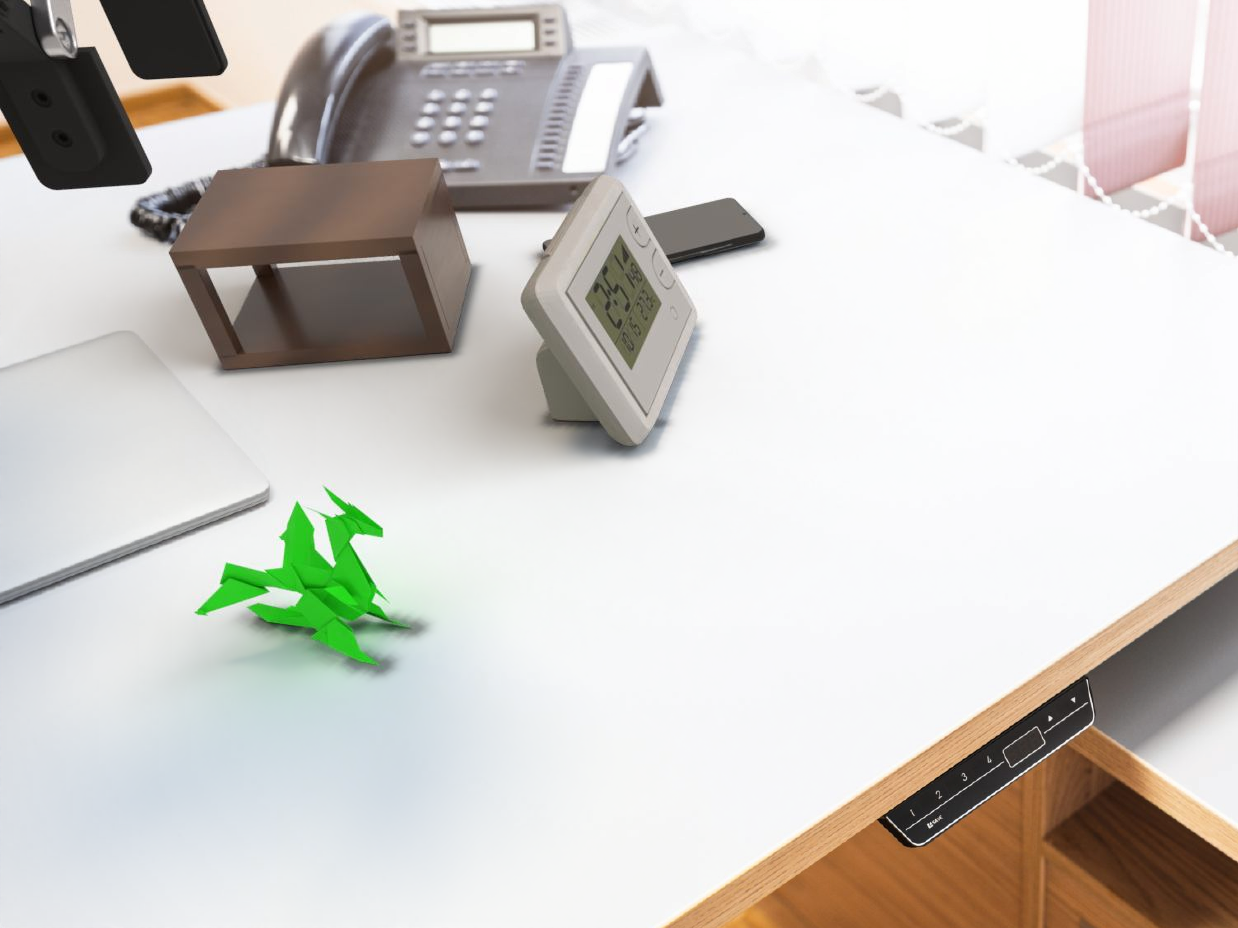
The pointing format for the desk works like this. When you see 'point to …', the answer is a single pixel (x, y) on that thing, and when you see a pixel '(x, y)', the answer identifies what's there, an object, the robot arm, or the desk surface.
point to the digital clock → (608, 315)
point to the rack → (335, 293)
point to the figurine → (312, 580)
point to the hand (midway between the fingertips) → (145, 125)
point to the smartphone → (702, 229)
